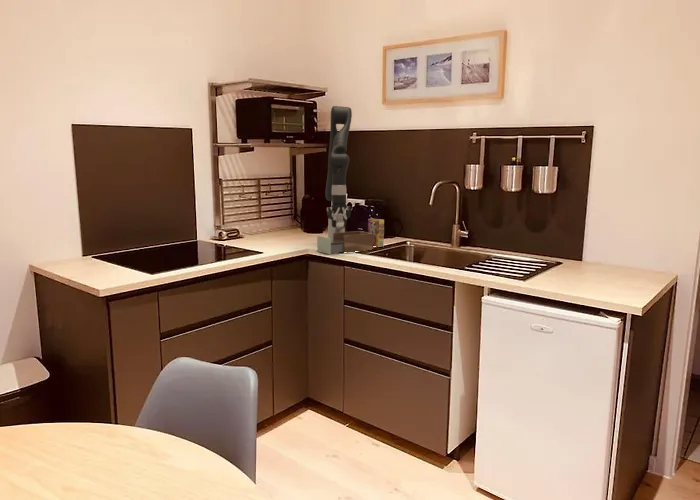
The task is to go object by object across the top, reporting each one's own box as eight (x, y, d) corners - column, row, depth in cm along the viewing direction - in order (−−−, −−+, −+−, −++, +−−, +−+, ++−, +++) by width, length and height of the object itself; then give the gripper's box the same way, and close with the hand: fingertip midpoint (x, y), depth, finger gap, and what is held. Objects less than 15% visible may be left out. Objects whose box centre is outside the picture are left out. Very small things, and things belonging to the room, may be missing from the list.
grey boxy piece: (317, 250, 276) (317, 235, 274) (344, 248, 284) (344, 233, 283) (329, 254, 265) (329, 238, 263) (357, 251, 273) (357, 236, 272)
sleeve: (333, 250, 280) (333, 233, 278) (360, 247, 289) (360, 230, 287) (344, 253, 270) (344, 235, 269) (372, 250, 279) (372, 233, 277)
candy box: (384, 247, 288) (384, 219, 286) (378, 248, 286) (378, 220, 283) (373, 245, 295) (373, 218, 293) (367, 246, 292) (367, 218, 290)
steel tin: (332, 228, 274) (331, 220, 273) (341, 227, 277) (341, 219, 276) (337, 229, 269) (337, 221, 269) (346, 228, 272) (346, 220, 271)
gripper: (347, 193, 277) (347, 225, 280) (323, 193, 269) (323, 227, 272) (354, 193, 271) (354, 226, 273) (330, 194, 263) (330, 228, 266)
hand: (339, 226), depth 273 cm, fingers closed on steel tin, 5 cm apart
